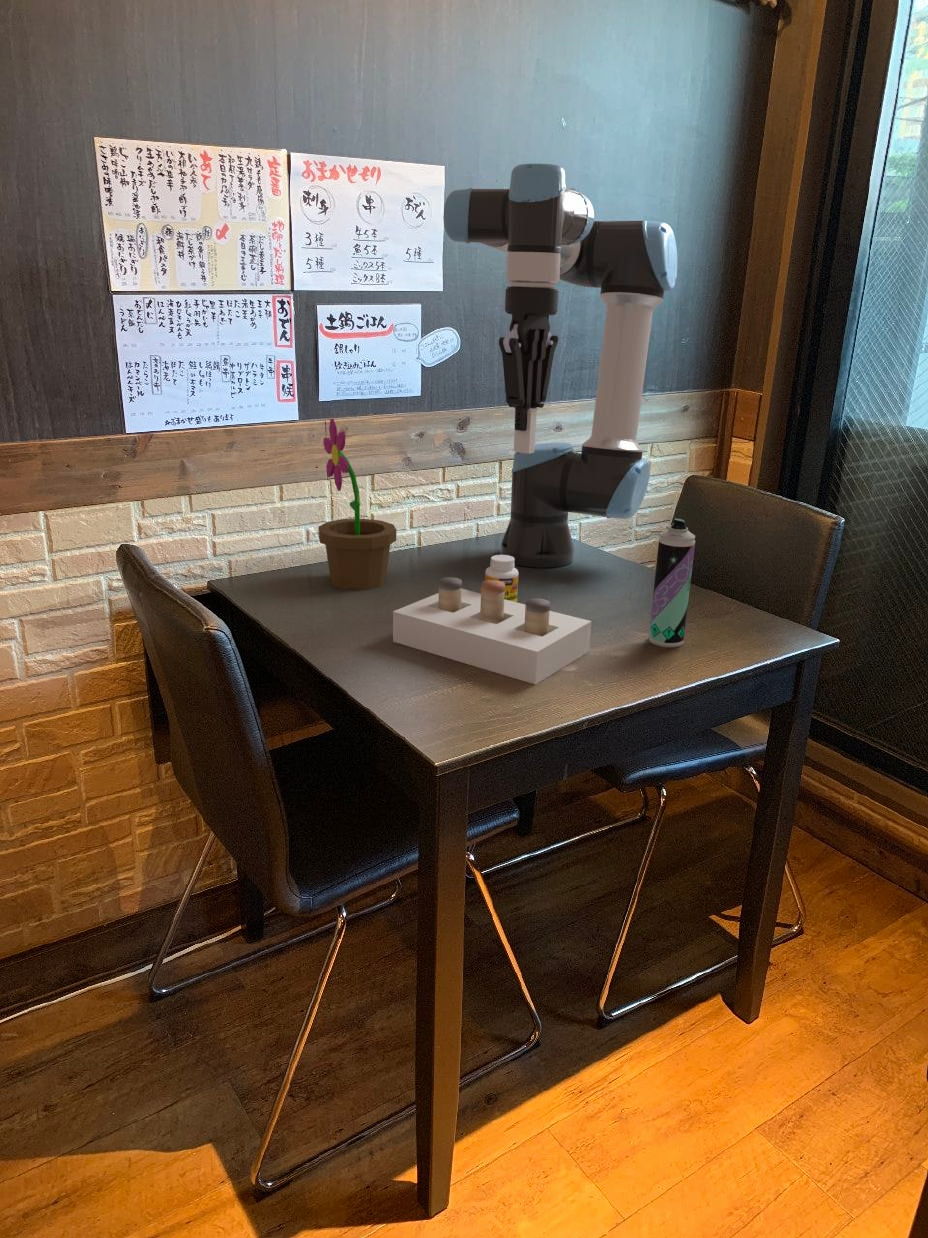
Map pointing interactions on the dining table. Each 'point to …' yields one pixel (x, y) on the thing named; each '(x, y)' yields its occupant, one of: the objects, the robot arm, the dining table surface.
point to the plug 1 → (450, 594)
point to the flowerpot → (353, 532)
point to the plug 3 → (537, 616)
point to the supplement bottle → (504, 574)
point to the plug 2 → (492, 601)
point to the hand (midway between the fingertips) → (523, 451)
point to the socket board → (492, 637)
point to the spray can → (672, 585)
